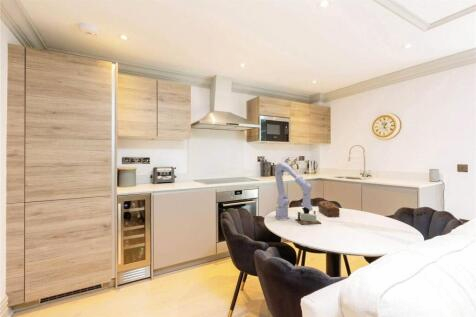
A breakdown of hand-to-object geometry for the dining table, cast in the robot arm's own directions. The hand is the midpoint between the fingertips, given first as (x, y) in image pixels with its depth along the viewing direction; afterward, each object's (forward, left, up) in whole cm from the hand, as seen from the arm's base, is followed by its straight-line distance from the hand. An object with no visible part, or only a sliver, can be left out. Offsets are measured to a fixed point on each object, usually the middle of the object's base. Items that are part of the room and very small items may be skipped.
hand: (306, 217), depth 171 cm
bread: (+28, +16, -4) cm, 32 cm away
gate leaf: (0, -3, -2) cm, 3 cm away
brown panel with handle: (+1, -1, -3) cm, 4 cm away
